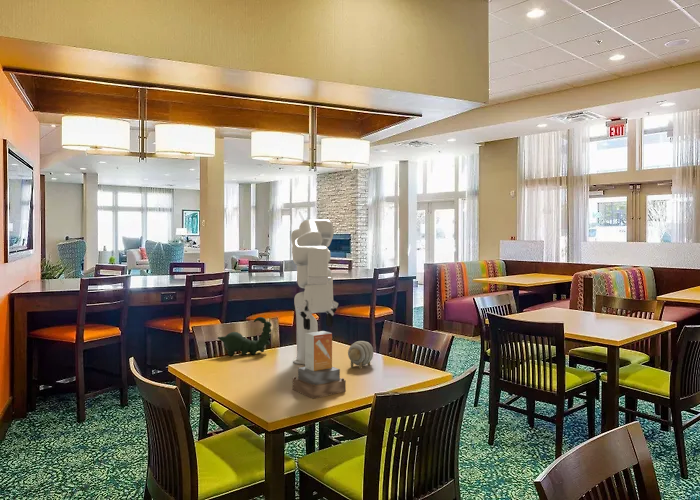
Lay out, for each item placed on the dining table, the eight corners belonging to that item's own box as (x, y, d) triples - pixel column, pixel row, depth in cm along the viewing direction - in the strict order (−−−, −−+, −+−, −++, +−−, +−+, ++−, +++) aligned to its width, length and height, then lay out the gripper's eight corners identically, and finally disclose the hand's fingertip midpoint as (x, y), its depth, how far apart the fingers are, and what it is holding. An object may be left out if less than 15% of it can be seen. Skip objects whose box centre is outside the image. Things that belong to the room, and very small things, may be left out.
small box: (313, 371, 183) (313, 335, 183) (304, 368, 188) (304, 332, 188) (332, 368, 188) (332, 332, 188) (323, 364, 193) (323, 330, 193)
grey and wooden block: (324, 382, 198) (324, 362, 197) (345, 391, 186) (345, 369, 186) (292, 389, 189) (292, 367, 189) (313, 398, 178) (312, 375, 178)
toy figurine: (267, 354, 255) (215, 353, 248) (270, 316, 255) (218, 313, 248) (270, 358, 246) (216, 357, 239) (273, 318, 246) (219, 316, 239)
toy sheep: (341, 369, 218) (341, 343, 217) (358, 360, 233) (358, 336, 232) (364, 372, 213) (363, 345, 213) (380, 363, 228) (380, 338, 228)
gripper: (331, 278, 195) (331, 323, 196) (292, 281, 185) (292, 328, 186) (343, 280, 189) (343, 326, 190) (303, 283, 179) (303, 332, 179)
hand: (318, 327), depth 188 cm, fingers open, 9 cm apart
